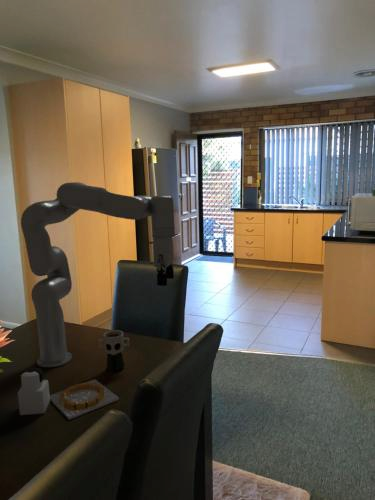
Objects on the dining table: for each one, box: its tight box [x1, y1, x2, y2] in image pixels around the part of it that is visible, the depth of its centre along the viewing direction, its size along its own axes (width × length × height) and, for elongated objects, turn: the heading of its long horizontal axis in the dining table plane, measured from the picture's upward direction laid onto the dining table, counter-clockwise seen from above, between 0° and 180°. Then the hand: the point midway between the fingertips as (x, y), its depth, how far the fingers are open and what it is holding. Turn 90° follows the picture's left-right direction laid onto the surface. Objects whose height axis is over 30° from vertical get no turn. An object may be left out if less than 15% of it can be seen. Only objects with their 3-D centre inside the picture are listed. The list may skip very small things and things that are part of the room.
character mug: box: [97, 329, 130, 372], centre depth 147 cm, size 11×7×13 cm, turn 94°
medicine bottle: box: [16, 367, 51, 416], centre depth 123 cm, size 7×7×12 cm
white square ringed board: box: [50, 378, 120, 421], centre depth 128 cm, size 16×16×2 cm
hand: (165, 281), depth 142 cm, fingers open, 9 cm apart
